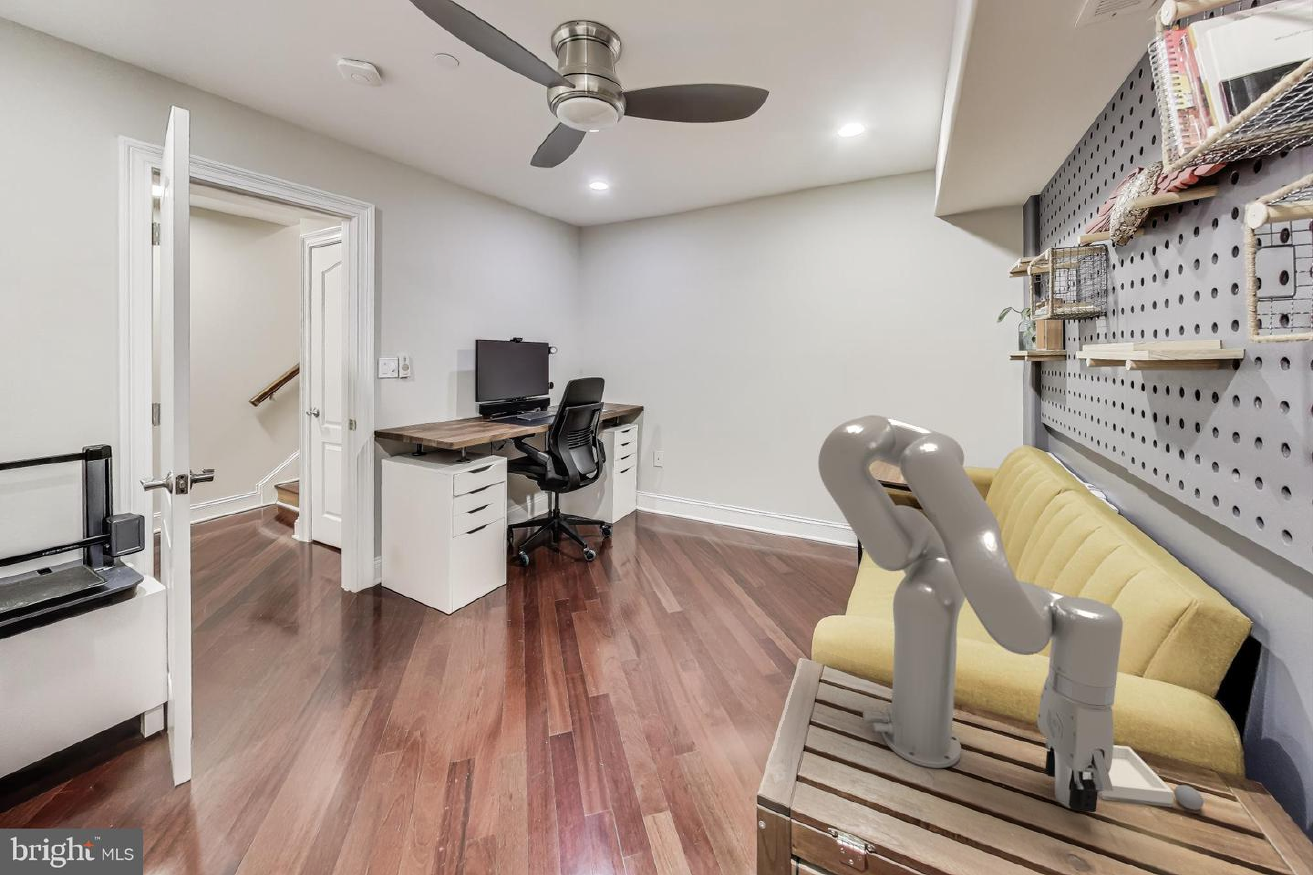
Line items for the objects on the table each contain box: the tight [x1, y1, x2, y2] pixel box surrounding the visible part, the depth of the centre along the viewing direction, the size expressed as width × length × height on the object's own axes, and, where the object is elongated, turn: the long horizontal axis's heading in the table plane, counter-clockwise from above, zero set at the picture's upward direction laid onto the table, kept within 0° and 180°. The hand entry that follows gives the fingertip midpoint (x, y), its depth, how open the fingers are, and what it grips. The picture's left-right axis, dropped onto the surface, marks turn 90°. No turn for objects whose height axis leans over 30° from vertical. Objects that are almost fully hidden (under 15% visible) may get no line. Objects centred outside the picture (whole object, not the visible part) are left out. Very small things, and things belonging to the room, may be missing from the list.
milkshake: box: [1054, 750, 1091, 809], centre depth 76 cm, size 4×5×10 cm
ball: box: [1173, 784, 1204, 810], centre depth 76 cm, size 3×3×3 cm
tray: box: [1088, 744, 1175, 808], centre depth 81 cm, size 9×9×2 cm
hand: (1069, 790), depth 77 cm, fingers open, 5 cm apart
